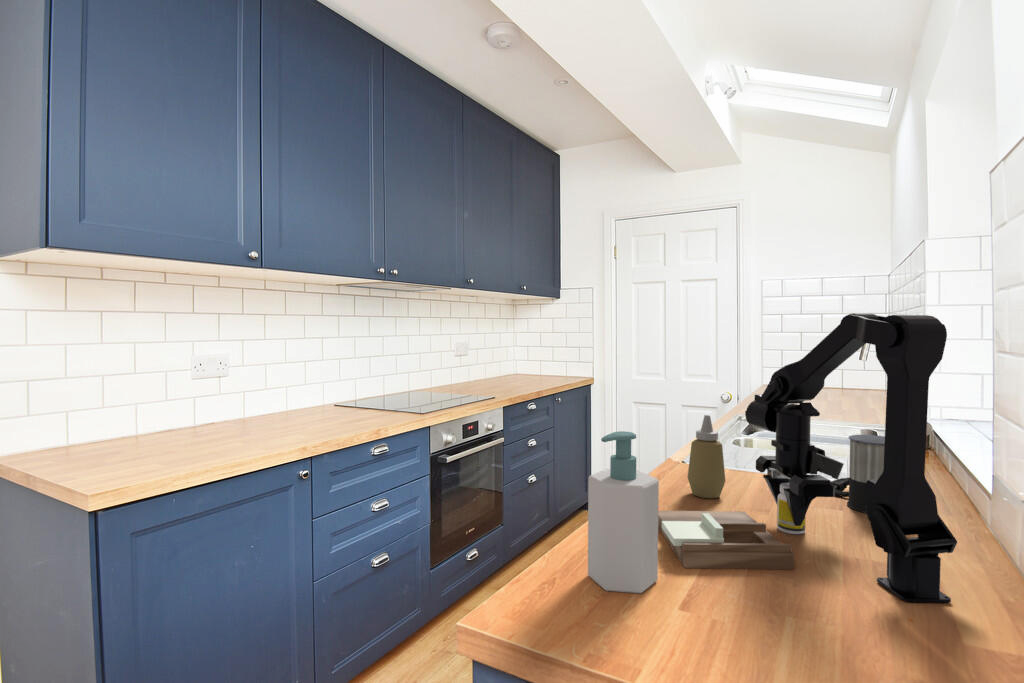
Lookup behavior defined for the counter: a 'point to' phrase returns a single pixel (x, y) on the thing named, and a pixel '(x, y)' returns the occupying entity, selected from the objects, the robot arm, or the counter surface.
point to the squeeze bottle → (706, 463)
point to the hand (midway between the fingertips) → (791, 520)
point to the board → (731, 543)
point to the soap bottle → (623, 522)
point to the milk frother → (861, 469)
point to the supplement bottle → (786, 514)
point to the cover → (694, 531)
